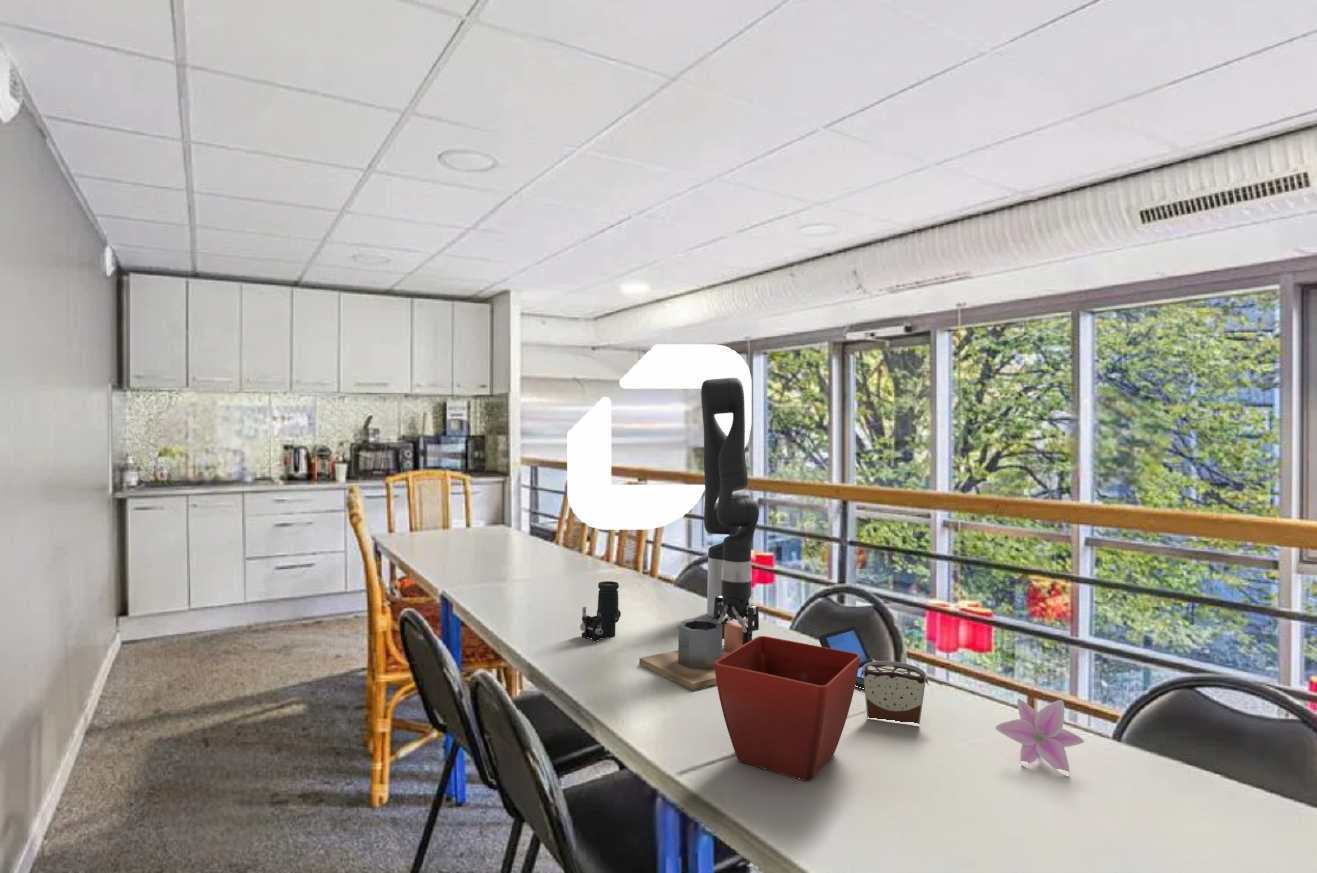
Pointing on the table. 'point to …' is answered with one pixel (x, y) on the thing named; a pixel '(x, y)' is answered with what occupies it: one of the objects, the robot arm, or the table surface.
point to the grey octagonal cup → (699, 644)
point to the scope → (602, 613)
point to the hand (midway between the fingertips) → (735, 642)
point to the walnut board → (679, 670)
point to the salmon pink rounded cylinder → (733, 636)
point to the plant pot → (786, 703)
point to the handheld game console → (848, 646)
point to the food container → (894, 690)
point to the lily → (1041, 734)
